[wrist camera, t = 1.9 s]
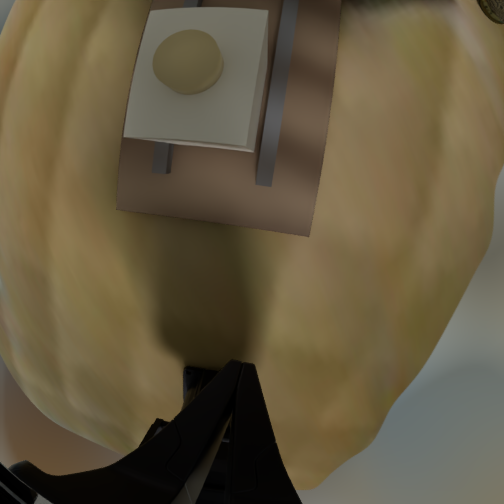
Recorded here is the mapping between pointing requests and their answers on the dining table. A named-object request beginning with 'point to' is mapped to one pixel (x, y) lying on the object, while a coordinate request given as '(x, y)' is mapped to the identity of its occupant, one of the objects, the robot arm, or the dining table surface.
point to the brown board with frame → (267, 140)
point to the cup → (493, 10)
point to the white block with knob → (200, 77)
